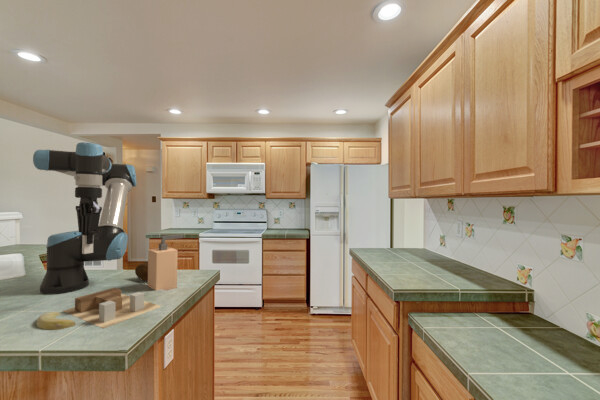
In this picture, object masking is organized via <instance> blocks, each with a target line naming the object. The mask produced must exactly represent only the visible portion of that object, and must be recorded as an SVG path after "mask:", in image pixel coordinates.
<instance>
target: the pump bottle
mask: <svg viewBox="0 0 600 400" xmlns="http://www.w3.org/2000/svg"><path fill="white" fill-rule="evenodd" d="M160 237H161V240H160V242H159V243H158V248H153V249H148V250H147V251H148V253H147V261H148V281H147V286H148V288H151V289H152V290H154V291H160V290H162V291H163V290H164V291H170V290H174V289H177V288H178V253H179V252H178V249H176V248H173V247H168V243H166V241H167V240H176V239H184V234H182V233H181V234H173V235H172V234H171V235H161V236H160Z"/></svg>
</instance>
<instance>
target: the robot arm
mask: <svg viewBox="0 0 600 400" xmlns="http://www.w3.org/2000/svg"><path fill="white" fill-rule="evenodd" d="M75 146H76V147H75V151H67V150H55V149H52V150H51V149H36V150H35V151H34V153H33V156H32V164H33V166H34V168H36V169H37V170H40V171H46V172H48V171H50V172H51V171H52V172H57V173H61V174H65V175H66V176H67V175H68V176H71V177H73V179H74V180H75V182H74V183H75V186H76V187H75V188H74V197H75V198H76V199H77V198H79V205H75V211H76V217H77V227H78V230H74V231H66V232H59V233H54V234H50V236H48V238H47V242H46V272H45V274H44V275H43V276H44V277H43V279H42V281H41V283H40V286H39V292H40V294H43V295H44V294H45V295H54V294H55V295H57V294H58V295H59V294H64V293H70V292H71V293H72V292H74V291H78V290H81V289H84V288H86V287H88V286H89V285H90V280H89V275H88V274H87V272H86V270H85V262H101V261H103V262H104V261H108V262H109V261H113V260H120V259H121V258H123V257H124V255H125V253H126V250H127V248H128V242H129V237H128V233H126V232H125V230H124V228H123V227H122V226H123V221H124V215H125V212H126V211H125V210H126V205H127V204H126V203H127V198H128V194H129V192H131V191H132V189H133V188H135V187H137V174H136V167H135V166H134V165H132V164H127V163H124V164H123V163H122V164H121V163H112V161H111V159H109V157H108V156H106V155H105V154H104V149H103V146H102V145H101V144H99V143H94V142H93V143H92V142H78V143H77V144H76V145H75ZM103 186H105V188H106V195H105V199H104V203H103V207H102V206H99V204H98V203H99V202H98V199H102V197H103V189H102V187H103Z"/></svg>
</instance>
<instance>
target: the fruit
mask: <svg viewBox="0 0 600 400" xmlns="http://www.w3.org/2000/svg"><path fill="white" fill-rule="evenodd" d="M61 314H62V313H61V312H60V311H48V312H46V313H43V314H41V315H40V316H38V318H37V320H36V326H37V327H38V328H39V329H42V330H64V329H67V328H73V327H74V326H76V324H77V323H76V321H75V320H71V319H65V318H63V319H62V318H56V317H58V316H60V315H61Z"/></svg>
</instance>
